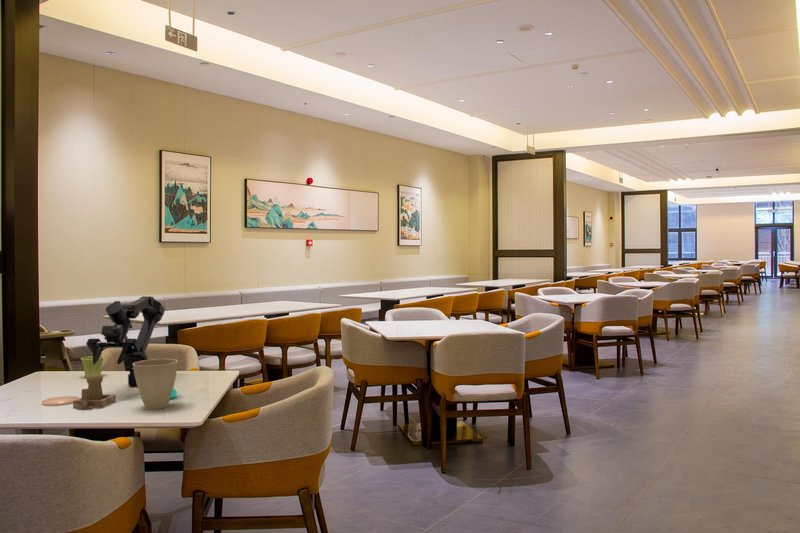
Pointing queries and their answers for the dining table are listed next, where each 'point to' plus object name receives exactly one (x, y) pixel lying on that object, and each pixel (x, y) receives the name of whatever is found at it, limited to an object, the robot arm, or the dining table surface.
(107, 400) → the collar stand
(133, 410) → the dining table surface
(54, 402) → the coaster
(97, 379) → the olive bulb shape
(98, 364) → the plant pot
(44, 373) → the dining table surface
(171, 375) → the plant pot
